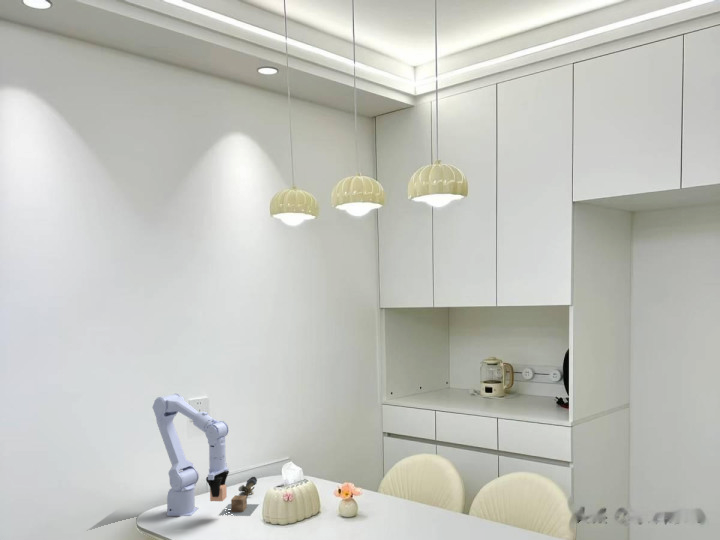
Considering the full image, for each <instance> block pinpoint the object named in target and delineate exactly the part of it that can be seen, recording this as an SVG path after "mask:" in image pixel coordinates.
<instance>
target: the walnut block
mask: <svg viewBox="0 0 720 540" xmlns="http://www.w3.org/2000/svg"><path fill="white" fill-rule="evenodd" d="M247 498H248V496H246V495H236V494H234V496H233V497H232V498H231V499H230V501H231V503H230V504H231V512H244V510H245V509H246V508H247V504H248V501H247V500H248V499H247Z"/></svg>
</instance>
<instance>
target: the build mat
mask: <svg viewBox="0 0 720 540" xmlns="http://www.w3.org/2000/svg"><path fill="white" fill-rule="evenodd" d="M259 505H260V504H258V503H257V504H255V503H247V508H246V509H245V510H244V512H231V510H228V509H231V503H228V504H227V505H226V506H225V508H227V509H225V508H224V509H223V510H222V511H220V513H219V514H218V516H221V515H222V516H223V515H224V514H225V515H227V517H228V515H231V514H233V515H234V517H235V516H236V517H238V516H239V517H251V515H252V514H253V513H254V512H255V511H256V510H257V508H258V507H259ZM225 510H226V511H225ZM228 512H230V513H228ZM226 513H227V514H226ZM233 515H231V516H233ZM231 516H230V517H231Z"/></svg>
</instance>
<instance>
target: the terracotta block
mask: <svg viewBox="0 0 720 540" xmlns="http://www.w3.org/2000/svg"><path fill="white" fill-rule="evenodd" d="M226 499H227V484H225V485H220V491H219V496H218V497H213V496H212V493H211V489H210V488H209V501H210V502H223V501H225V500H226Z"/></svg>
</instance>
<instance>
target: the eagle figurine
mask: <svg viewBox="0 0 720 540" xmlns="http://www.w3.org/2000/svg"><path fill="white" fill-rule="evenodd" d="M257 482H258V479H257V477H255V476H251V477H249V479H247V480H246V484H242V485H240V486H239V487H238V492H242V493H243V494H245V496H247V497H248V496H250V495H249V494H252V495H254V494H255V493H254V491H253V490H254V489H255V485H257Z"/></svg>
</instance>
